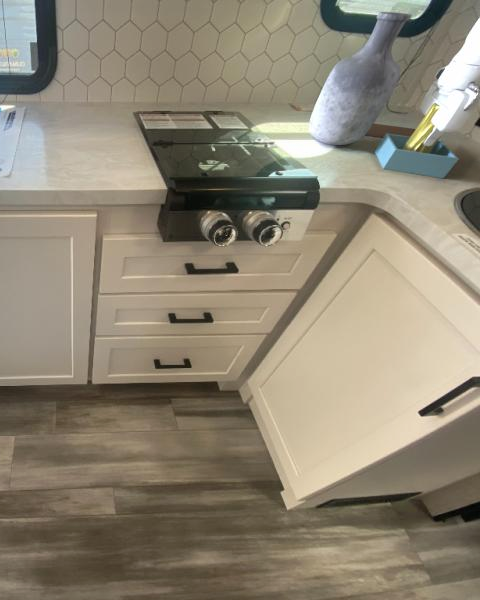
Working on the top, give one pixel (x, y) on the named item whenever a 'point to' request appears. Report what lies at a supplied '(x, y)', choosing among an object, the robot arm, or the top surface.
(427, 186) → the top surface
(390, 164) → the crate
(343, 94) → the vase
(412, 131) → the mat
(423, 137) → the vase
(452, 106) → the robot arm
